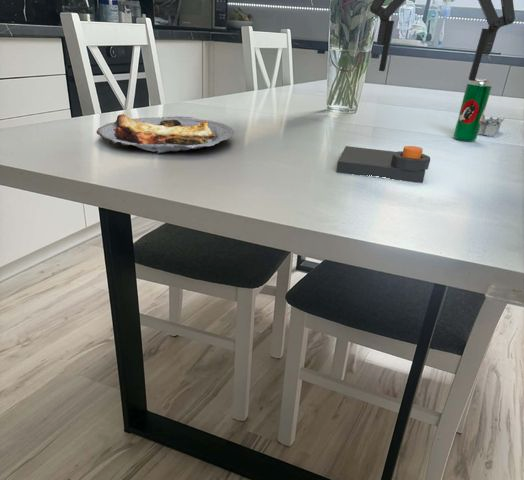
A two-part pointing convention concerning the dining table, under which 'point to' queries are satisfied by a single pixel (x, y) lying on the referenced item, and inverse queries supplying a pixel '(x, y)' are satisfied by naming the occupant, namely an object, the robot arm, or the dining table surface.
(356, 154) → the dark grey flat block
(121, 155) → the dining table surface
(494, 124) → the egg carton
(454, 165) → the dining table surface
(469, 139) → the soda can
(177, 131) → the food plate
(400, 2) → the robot arm
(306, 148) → the dining table surface
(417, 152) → the tare button
